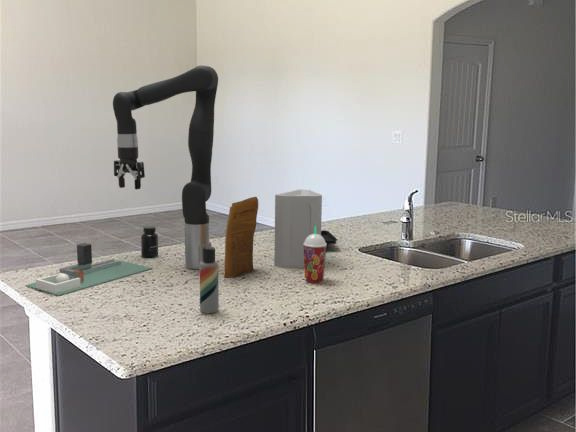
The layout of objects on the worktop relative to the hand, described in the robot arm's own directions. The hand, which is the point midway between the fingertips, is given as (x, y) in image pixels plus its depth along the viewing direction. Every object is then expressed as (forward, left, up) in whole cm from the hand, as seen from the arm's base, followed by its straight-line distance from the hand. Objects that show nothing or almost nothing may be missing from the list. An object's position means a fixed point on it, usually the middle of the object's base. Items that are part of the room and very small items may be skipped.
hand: (129, 188), depth 238 cm
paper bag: (-54, -39, -30) cm, 73 cm away
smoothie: (-70, -22, -30) cm, 79 cm away
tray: (-40, -67, -30) cm, 84 cm away
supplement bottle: (+2, -11, -30) cm, 32 cm away
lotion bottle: (-61, +24, -30) cm, 72 cm away
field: (-4, +23, -29) cm, 37 cm away
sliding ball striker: (-2, +25, -29) cm, 38 cm away
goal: (-6, +38, -29) cm, 48 cm away
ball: (-6, +36, -27) cm, 45 cm away
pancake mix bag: (-43, -14, -30) cm, 54 cm away
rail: (+2, +20, -29) cm, 35 cm away
